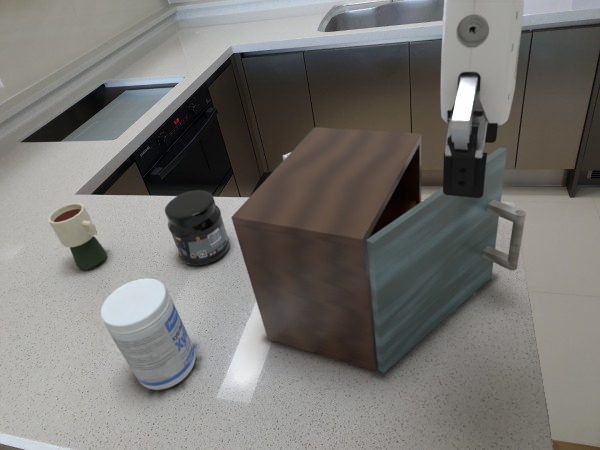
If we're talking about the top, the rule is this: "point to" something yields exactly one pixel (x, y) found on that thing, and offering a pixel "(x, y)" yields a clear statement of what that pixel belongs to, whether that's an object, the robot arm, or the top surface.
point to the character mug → (77, 234)
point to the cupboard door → (437, 261)
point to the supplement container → (197, 227)
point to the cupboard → (326, 237)
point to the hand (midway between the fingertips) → (471, 165)
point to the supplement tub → (149, 333)
